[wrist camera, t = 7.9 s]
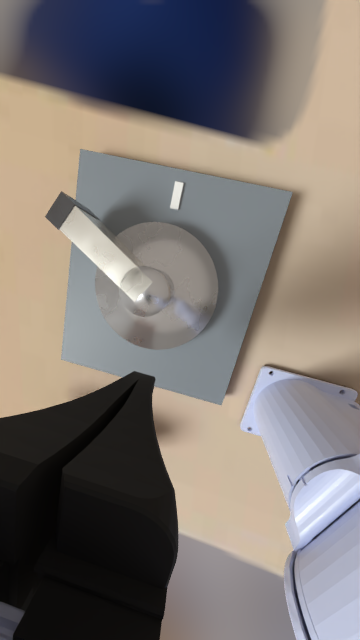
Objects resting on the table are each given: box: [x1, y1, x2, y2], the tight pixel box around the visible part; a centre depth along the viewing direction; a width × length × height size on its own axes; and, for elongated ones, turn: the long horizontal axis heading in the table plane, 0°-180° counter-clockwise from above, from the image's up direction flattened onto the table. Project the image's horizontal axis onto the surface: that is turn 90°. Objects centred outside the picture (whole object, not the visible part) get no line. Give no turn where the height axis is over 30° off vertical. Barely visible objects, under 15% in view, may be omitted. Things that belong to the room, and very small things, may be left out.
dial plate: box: [61, 149, 293, 405], centre depth 18 cm, size 18×20×2 cm
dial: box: [45, 191, 218, 350], centre depth 15 cm, size 11×14×4 cm
